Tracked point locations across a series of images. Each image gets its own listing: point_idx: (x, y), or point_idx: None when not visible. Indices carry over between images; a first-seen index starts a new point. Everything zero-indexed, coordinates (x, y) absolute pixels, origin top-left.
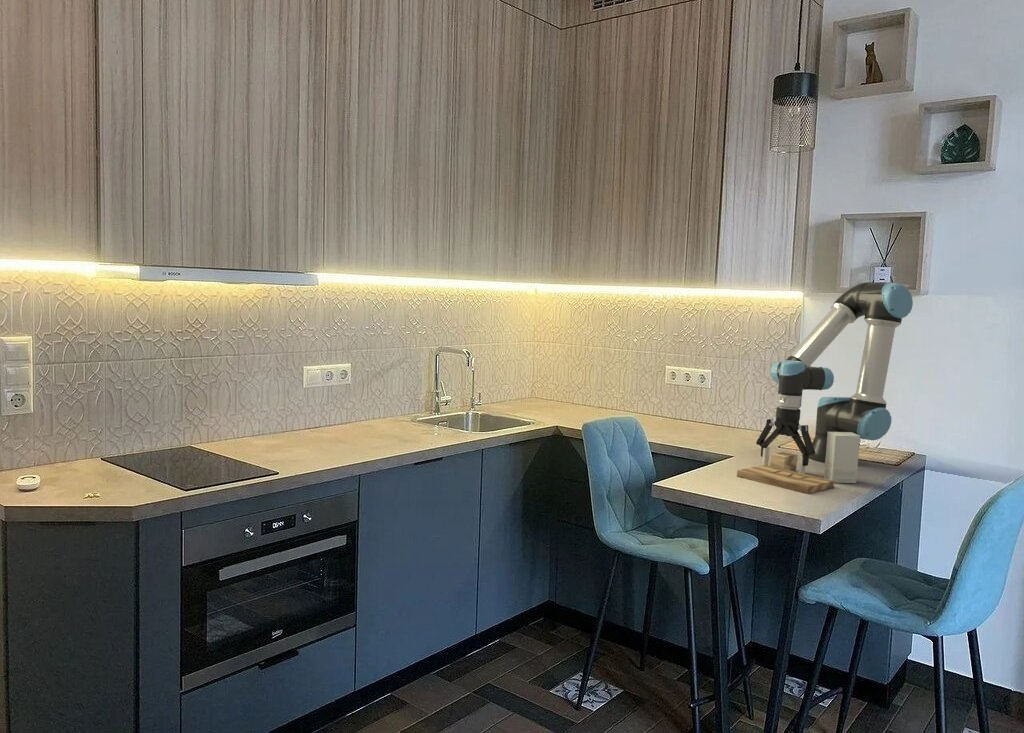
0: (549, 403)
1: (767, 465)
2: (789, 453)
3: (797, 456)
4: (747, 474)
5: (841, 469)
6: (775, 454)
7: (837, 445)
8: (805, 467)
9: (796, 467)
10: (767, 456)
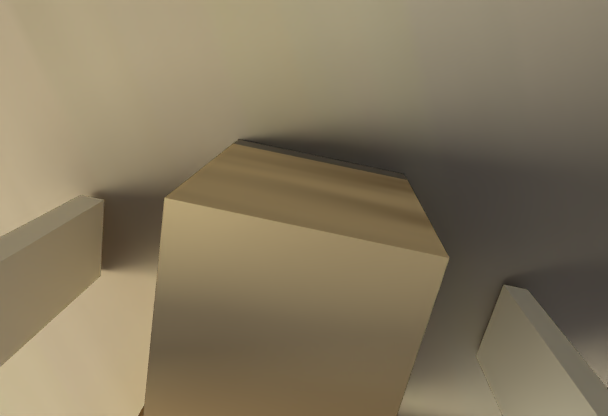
0: None
1: (96, 216)
2: (298, 272)
3: (441, 243)
4: None
5: None
6: None
7: None
8: (566, 340)
9: (412, 190)
10: (28, 281)
